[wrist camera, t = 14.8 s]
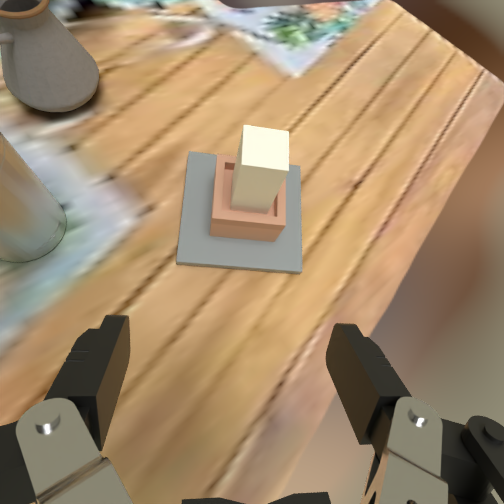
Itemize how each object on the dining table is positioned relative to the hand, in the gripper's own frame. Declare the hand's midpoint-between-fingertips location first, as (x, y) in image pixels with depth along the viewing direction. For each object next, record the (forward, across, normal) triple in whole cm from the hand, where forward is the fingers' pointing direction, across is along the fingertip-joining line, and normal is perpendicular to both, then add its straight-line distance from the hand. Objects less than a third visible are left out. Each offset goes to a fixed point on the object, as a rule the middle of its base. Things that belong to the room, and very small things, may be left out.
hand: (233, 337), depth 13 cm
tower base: (+32, -4, +6) cm, 33 cm away
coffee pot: (+41, +25, -3) cm, 48 cm away
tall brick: (+28, -4, +2) cm, 29 cm away
